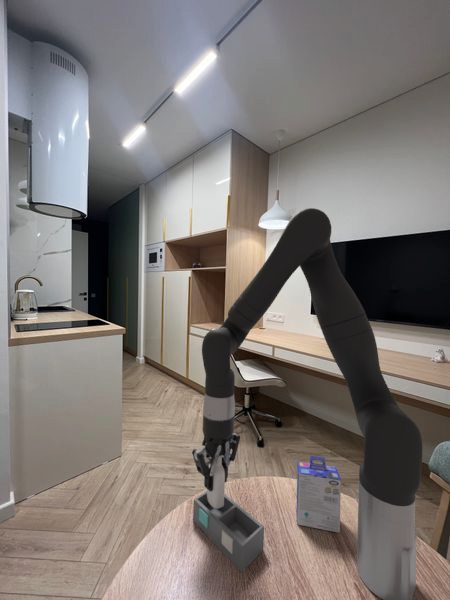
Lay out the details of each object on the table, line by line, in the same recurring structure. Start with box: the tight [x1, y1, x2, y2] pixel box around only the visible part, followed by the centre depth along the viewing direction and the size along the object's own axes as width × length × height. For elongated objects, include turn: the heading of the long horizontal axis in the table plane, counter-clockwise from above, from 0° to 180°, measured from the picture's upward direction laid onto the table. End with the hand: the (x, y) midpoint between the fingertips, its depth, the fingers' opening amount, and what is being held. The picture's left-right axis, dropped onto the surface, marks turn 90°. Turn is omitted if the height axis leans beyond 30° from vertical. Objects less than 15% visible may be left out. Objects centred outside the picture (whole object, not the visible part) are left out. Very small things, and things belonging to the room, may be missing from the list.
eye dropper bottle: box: [206, 455, 226, 509], centre depth 60 cm, size 4×6×12 cm
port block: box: [192, 490, 265, 573], centre depth 57 cm, size 16×7×5 cm, turn 44°
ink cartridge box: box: [295, 455, 342, 534], centre depth 62 cm, size 10×6×14 cm, turn 78°
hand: (216, 484), depth 60 cm, fingers closed on eye dropper bottle, 3 cm apart
